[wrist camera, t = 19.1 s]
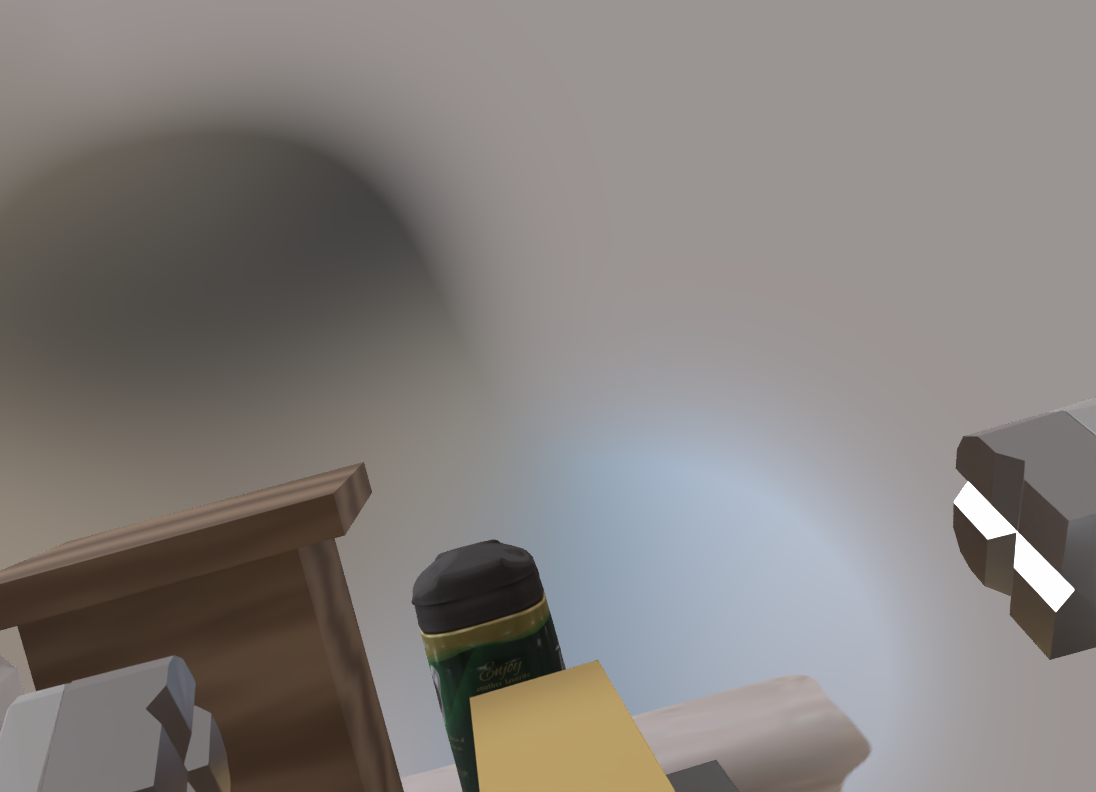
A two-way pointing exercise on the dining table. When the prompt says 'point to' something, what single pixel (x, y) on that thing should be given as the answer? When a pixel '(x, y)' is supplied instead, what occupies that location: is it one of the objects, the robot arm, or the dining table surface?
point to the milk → (8, 687)
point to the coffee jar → (482, 633)
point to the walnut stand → (226, 627)
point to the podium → (702, 779)
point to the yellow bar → (562, 737)
